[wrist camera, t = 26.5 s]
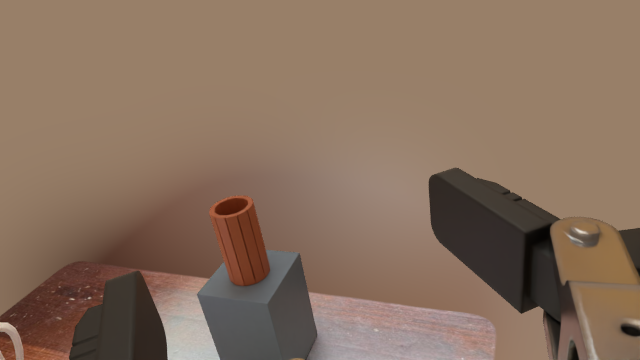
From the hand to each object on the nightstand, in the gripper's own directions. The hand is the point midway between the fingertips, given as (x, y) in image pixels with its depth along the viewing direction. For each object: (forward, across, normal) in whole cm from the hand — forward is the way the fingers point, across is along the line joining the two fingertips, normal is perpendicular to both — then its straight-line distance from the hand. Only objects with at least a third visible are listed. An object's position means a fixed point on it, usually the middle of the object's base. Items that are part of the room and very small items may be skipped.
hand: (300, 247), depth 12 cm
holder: (+29, 0, +33) cm, 44 cm away
